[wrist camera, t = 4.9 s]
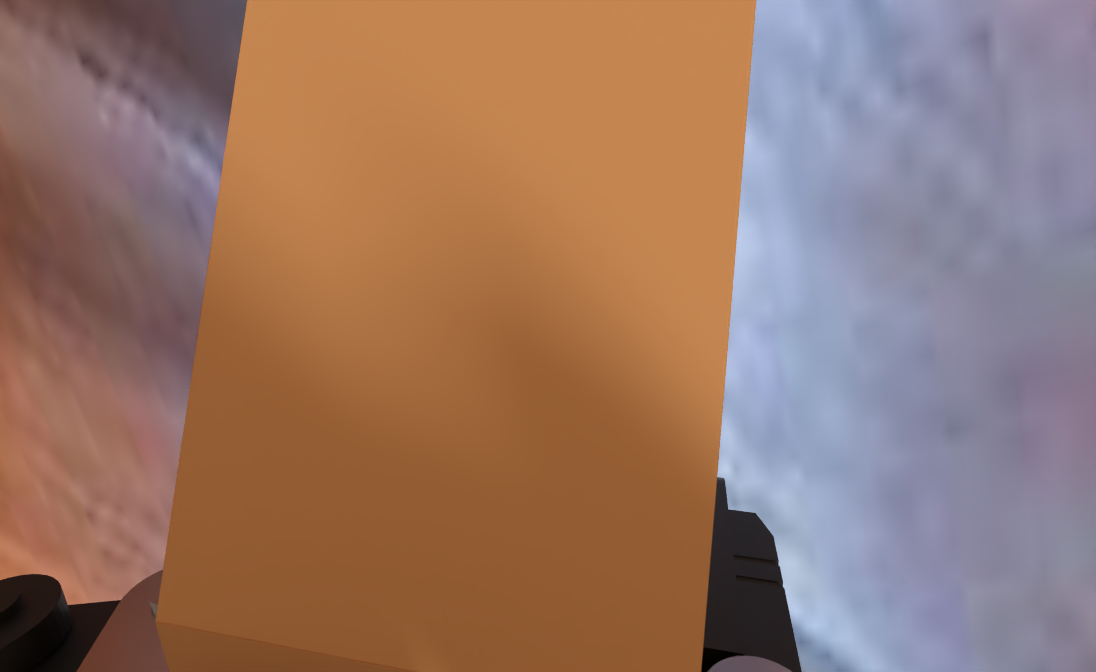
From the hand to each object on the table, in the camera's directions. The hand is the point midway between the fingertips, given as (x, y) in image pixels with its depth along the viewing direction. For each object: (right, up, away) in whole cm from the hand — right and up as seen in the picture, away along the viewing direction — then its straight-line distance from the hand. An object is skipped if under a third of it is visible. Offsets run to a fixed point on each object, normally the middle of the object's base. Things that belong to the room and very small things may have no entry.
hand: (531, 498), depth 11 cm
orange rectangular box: (0, +4, -1) cm, 4 cm away
